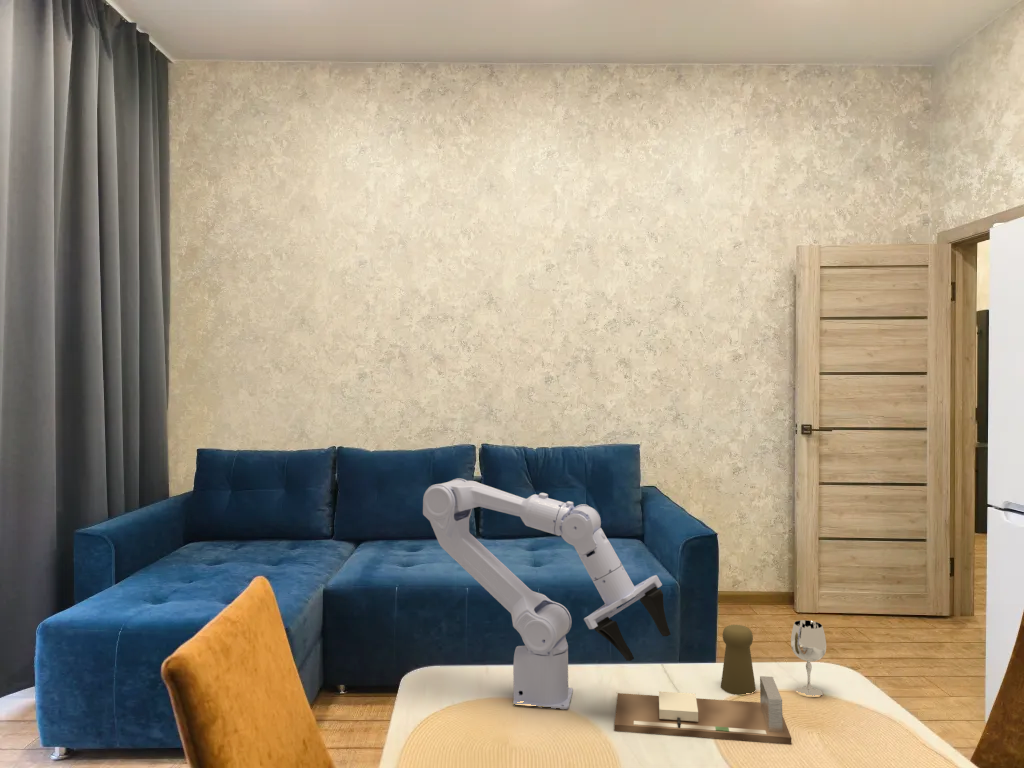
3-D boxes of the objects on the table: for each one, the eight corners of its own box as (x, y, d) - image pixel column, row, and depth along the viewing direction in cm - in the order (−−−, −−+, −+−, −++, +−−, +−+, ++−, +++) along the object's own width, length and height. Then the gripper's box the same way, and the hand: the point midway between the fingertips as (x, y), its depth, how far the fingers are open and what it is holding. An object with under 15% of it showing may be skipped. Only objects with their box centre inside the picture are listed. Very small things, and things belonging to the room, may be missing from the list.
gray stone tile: (768, 731, 113) (768, 698, 113) (760, 706, 122) (760, 676, 122) (782, 732, 113) (782, 699, 113) (773, 707, 122) (772, 676, 122)
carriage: (659, 724, 115) (659, 714, 115) (659, 700, 124) (658, 691, 124) (699, 727, 114) (698, 717, 114) (695, 702, 123) (695, 693, 123)
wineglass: (786, 693, 129) (785, 624, 129) (799, 683, 134) (798, 617, 134) (819, 702, 125) (818, 632, 125) (831, 691, 130) (830, 623, 130)
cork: (758, 696, 128) (757, 633, 128) (722, 693, 129) (721, 631, 129) (753, 682, 134) (753, 622, 134) (719, 680, 135) (718, 620, 135)
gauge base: (614, 730, 116) (614, 723, 116) (617, 698, 128) (617, 692, 128) (791, 744, 111) (791, 736, 111) (777, 709, 123) (777, 702, 123)
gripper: (579, 592, 118) (622, 671, 115) (650, 549, 123) (693, 624, 120) (566, 595, 124) (607, 670, 122) (634, 554, 129) (675, 625, 127)
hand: (648, 647), depth 121 cm, fingers open, 7 cm apart
